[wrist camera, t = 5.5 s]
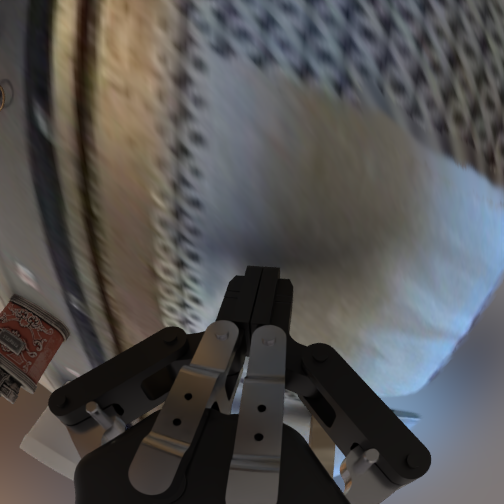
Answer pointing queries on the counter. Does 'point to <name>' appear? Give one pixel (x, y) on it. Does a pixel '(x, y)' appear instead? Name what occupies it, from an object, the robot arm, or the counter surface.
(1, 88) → the compass
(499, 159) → the counter surface
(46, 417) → the foam cup
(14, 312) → the lighter
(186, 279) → the counter surface
